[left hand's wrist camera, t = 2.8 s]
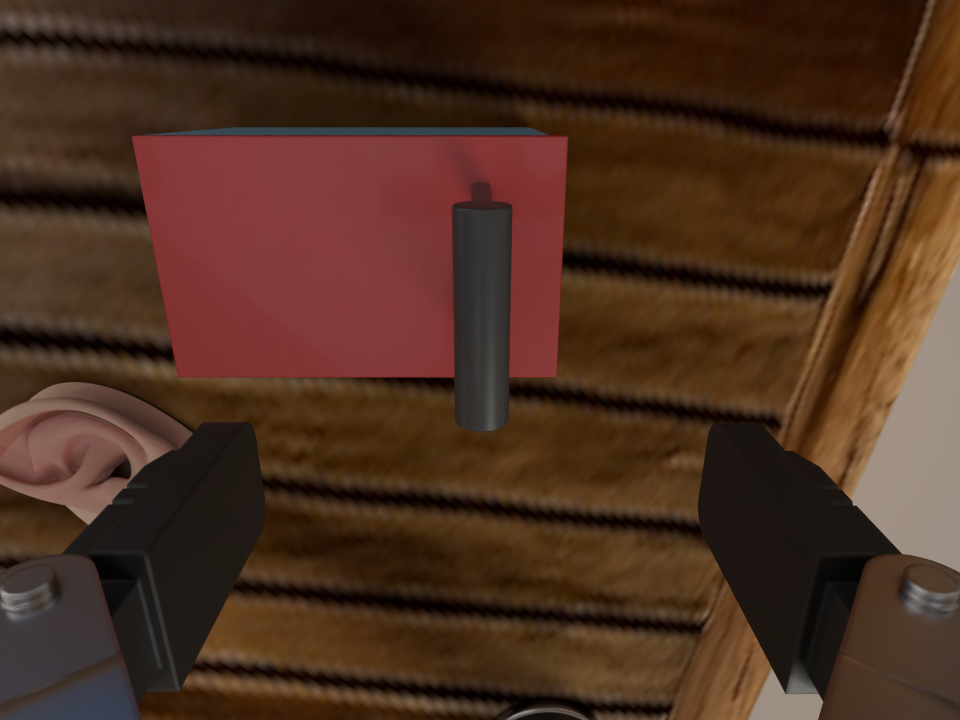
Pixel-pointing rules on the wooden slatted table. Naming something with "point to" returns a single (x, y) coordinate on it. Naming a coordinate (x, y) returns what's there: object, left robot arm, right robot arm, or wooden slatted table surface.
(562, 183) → the lid
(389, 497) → the wooden slatted table surface
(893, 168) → the wooden slatted table surface
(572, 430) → the wooden slatted table surface
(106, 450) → the anatomical model
